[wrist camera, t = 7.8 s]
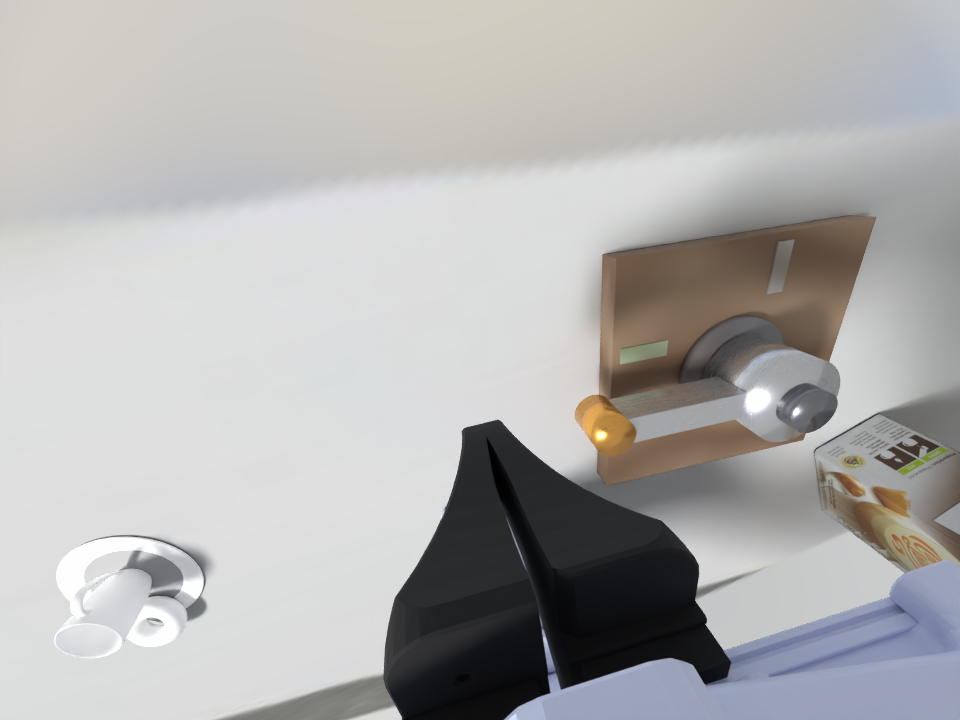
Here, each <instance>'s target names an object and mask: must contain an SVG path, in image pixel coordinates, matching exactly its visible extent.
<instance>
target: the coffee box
mask: <svg viewBox="0 0 960 720" xmlns="http://www.w3.org/2000/svg"><path fill="white" fill-rule="evenodd" d="M814 454H815V461H816V469H817V476H818V483H819V490H820V497H821V504H822V509H823V511H824V512H826V513H827V514H828V515H830V516H831V517H832V518H834V519H835V520H836V521H837V522H839V523H840V524H841V525H843V526H844V527H845V528H847V529H848V530H849V531H850V532H852V533H853V534H854V535H855V536H857V537H858V538H860V539H861V540H862V541H864V542H865V543H866V544H868V545H869V546H870V547H872V548H873V549H874V550H875V551H877V552H878V553H879V554H881V555H882V556H883V557H884V558H886V559H887V560H888V561H890V562H891V563H892V564H894V565H895V566H896V567H897V568H899V569H900V570H901V571H903V572H904V573H907V572H909V571H912V570H915V569H918V568H921V567H924V566H928V565H931V564H934V563H937V562H940V561H943V560H950V561H953V562H954V563H956V564H957V565H958V566H960V452H958V451H956V450H954V449H952V448H950V447H948V446H946V445H944V444H942V443H939V442H938V441H935V440H933V439H931V438H929V437H927V436H925V435H922V434H920V433H918V432H916V431H914V430H912V429H910V428H908V427H906V426H903V425H901V424H899V423H897V422H895V421H893V420H891V419H888V418H887V417H885V416H883V415H876V416H874V417H872V418H871V419H869V420H867V421H865V422H864V423H862V424H860V425H859V426H857V427H855V428H853V429H852V430H850V431H848V432H846V433H844V434H843V435H841V436H839V437H837V438H836V439H834V440H832V441H830V442H829V443H827V444H825V445H823V446H821V447H819V448H818V449H816V451H815V453H814Z"/></svg>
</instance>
